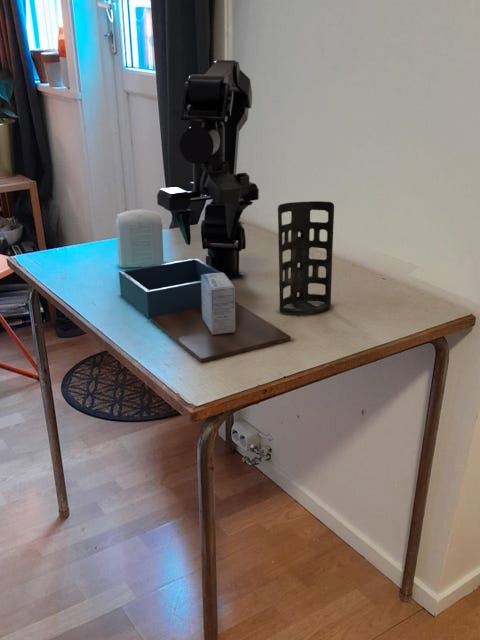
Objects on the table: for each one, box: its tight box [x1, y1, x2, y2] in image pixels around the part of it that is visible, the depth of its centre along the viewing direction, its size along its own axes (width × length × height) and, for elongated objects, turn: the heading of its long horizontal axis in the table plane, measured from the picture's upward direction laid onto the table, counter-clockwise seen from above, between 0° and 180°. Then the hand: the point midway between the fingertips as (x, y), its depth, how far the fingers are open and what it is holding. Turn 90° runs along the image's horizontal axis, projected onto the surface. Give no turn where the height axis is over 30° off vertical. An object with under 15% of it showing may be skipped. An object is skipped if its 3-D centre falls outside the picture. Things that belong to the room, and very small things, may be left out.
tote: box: [118, 257, 230, 320], centre depth 131 cm, size 18×14×5 cm
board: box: [149, 301, 292, 364], centre depth 119 cm, size 18×20×1 cm
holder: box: [277, 200, 335, 315], centre depth 124 cm, size 11×8×20 cm
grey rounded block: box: [115, 209, 165, 268], centre depth 147 cm, size 10×4×12 cm, turn 103°
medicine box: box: [201, 273, 236, 335], centre depth 117 cm, size 8×4×9 cm, turn 16°
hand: (209, 241), depth 126 cm, fingers open, 9 cm apart
